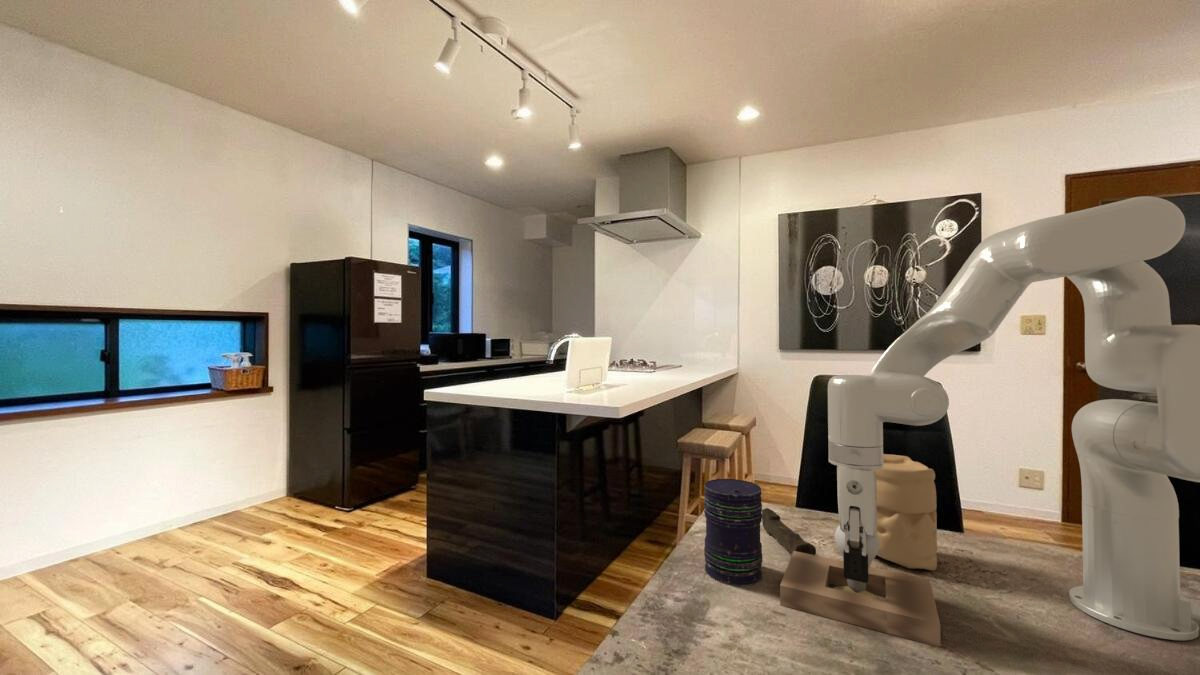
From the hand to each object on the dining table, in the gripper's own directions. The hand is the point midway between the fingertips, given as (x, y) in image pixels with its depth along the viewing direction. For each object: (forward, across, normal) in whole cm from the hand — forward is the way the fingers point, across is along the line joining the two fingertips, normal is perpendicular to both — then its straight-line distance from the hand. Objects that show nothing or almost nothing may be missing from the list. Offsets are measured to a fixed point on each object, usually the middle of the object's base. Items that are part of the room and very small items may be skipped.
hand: (856, 569), depth 73 cm
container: (+5, +21, -6) cm, 22 cm away
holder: (+5, 0, 0) cm, 5 cm away
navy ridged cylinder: (+5, 0, +19) cm, 20 cm away
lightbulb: (+4, 0, 0) cm, 4 cm away
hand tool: (+5, +17, +14) cm, 23 cm away
